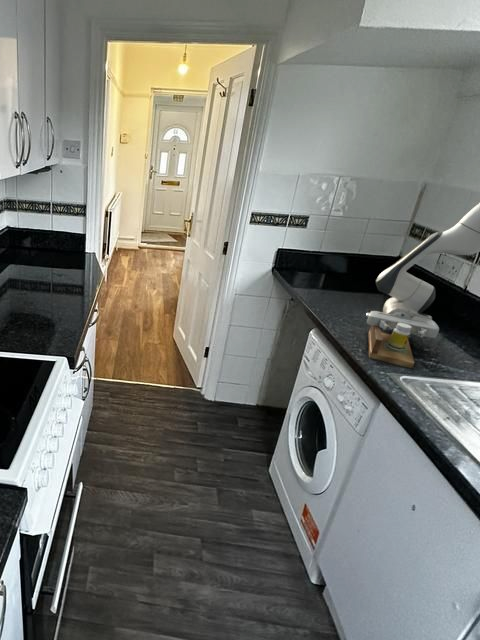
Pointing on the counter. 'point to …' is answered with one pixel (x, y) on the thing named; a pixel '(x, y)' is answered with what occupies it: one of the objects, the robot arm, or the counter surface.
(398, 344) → the supplement bottle
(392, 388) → the counter surface
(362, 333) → the counter surface
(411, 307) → the robot arm
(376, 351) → the oak shelf
